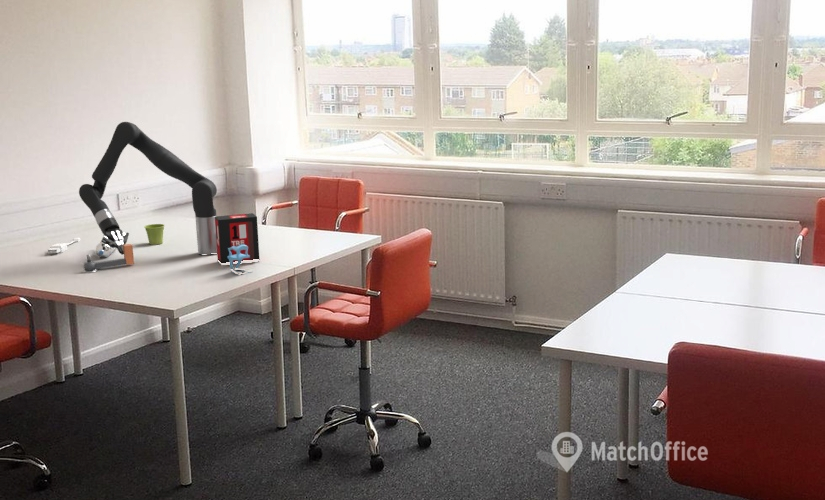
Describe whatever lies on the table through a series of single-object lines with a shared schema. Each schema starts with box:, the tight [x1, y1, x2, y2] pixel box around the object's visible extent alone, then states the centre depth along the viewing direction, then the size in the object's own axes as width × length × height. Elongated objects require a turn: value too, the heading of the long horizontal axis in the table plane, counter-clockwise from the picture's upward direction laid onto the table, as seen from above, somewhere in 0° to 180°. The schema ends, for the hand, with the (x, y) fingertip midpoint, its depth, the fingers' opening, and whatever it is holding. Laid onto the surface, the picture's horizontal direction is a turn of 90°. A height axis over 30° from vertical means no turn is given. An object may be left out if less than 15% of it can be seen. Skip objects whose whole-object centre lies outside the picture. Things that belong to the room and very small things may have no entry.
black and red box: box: [215, 212, 260, 263], centre depth 387 cm, size 16×9×20 cm, turn 111°
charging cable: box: [47, 237, 81, 254], centre depth 424 cm, size 5×32×3 cm, turn 179°
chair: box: [227, 244, 250, 270], centre depth 370 cm, size 8×8×12 cm
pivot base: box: [82, 254, 99, 274], centre depth 377 cm, size 6×6×7 cm
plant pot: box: [143, 223, 166, 246], centre depth 427 cm, size 9×9×9 cm
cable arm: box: [83, 243, 135, 271], centre depth 381 cm, size 20×4×8 cm, turn 122°
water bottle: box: [94, 241, 117, 259], centre depth 409 cm, size 7×7×25 cm
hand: (124, 253), depth 387 cm, fingers closed
